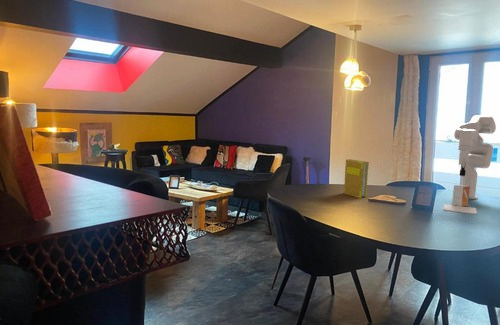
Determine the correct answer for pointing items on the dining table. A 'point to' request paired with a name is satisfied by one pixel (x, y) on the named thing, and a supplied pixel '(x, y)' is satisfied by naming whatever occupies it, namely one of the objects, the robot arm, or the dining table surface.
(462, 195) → the small box
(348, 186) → the book
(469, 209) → the mat
